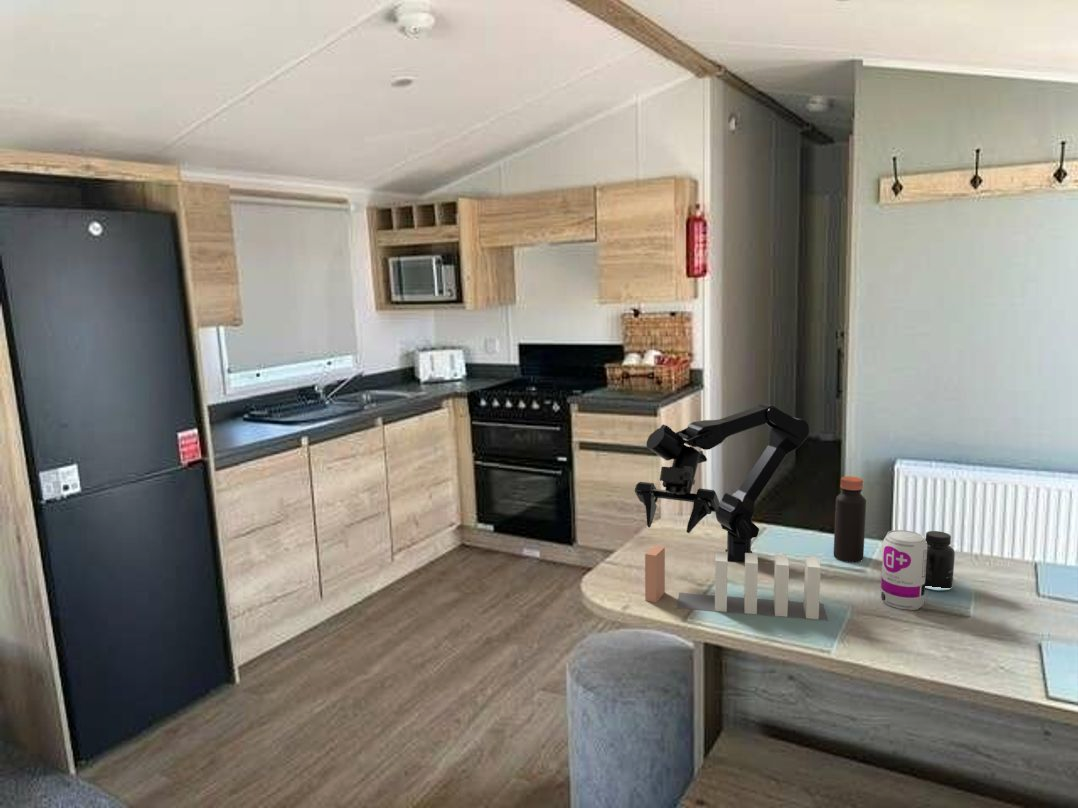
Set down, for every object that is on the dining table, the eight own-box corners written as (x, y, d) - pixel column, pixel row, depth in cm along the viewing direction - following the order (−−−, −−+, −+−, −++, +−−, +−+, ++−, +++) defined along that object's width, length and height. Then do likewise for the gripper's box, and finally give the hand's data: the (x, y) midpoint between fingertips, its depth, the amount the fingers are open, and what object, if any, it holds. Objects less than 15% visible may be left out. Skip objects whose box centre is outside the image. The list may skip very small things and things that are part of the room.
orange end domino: (645, 602, 162) (645, 553, 160) (654, 592, 166) (654, 545, 165) (655, 604, 160) (655, 555, 159) (664, 594, 165) (664, 547, 163)
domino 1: (714, 610, 156) (715, 560, 154) (715, 599, 161) (715, 551, 159) (726, 611, 155) (727, 561, 153) (726, 600, 160) (727, 551, 158)
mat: (679, 594, 165) (679, 592, 165) (823, 605, 158) (823, 603, 158) (676, 609, 157) (676, 608, 157) (828, 622, 150) (828, 620, 150)
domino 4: (806, 618, 151) (807, 566, 149) (803, 606, 157) (805, 556, 155) (818, 619, 151) (820, 567, 149) (815, 607, 156) (817, 557, 154)
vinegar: (837, 551, 188) (840, 473, 184) (866, 556, 184) (870, 477, 180) (830, 559, 182) (833, 480, 179) (859, 565, 178) (863, 484, 175)
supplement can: (906, 615, 152) (910, 545, 150) (871, 600, 159) (875, 533, 157) (932, 606, 156) (936, 537, 153) (897, 592, 163) (901, 526, 160)
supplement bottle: (956, 593, 162) (960, 540, 160) (922, 591, 163) (926, 538, 161) (946, 580, 168) (950, 529, 166) (913, 578, 170) (916, 528, 168)
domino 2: (744, 613, 154) (745, 562, 152) (744, 601, 159) (745, 552, 158) (756, 614, 154) (757, 563, 152) (755, 602, 159) (756, 553, 157)
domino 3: (775, 615, 153) (776, 564, 151) (773, 604, 158) (774, 554, 156) (787, 616, 152) (788, 565, 150) (785, 605, 157) (786, 555, 156)
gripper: (637, 448, 174) (619, 507, 166) (716, 455, 165) (701, 518, 157) (649, 472, 182) (632, 530, 174) (725, 480, 173) (711, 541, 165)
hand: (667, 529), depth 168 cm, fingers open, 9 cm apart
